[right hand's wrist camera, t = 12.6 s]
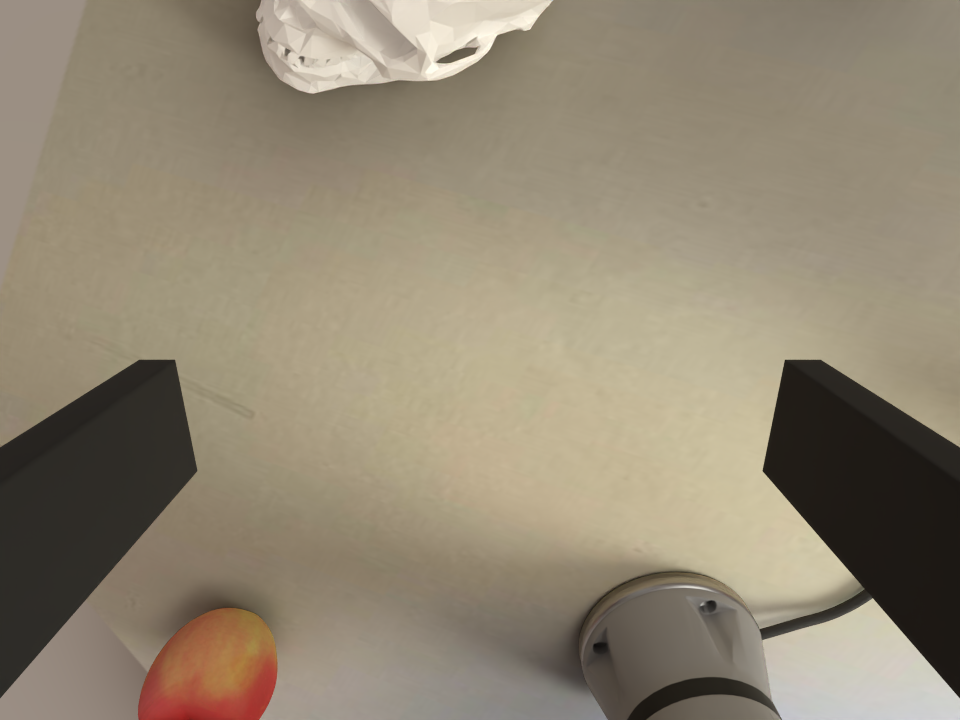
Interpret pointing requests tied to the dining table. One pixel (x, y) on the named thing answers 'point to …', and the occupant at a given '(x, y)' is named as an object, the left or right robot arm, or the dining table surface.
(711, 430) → the dining table surface
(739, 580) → the dining table surface
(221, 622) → the apple
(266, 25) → the skull
